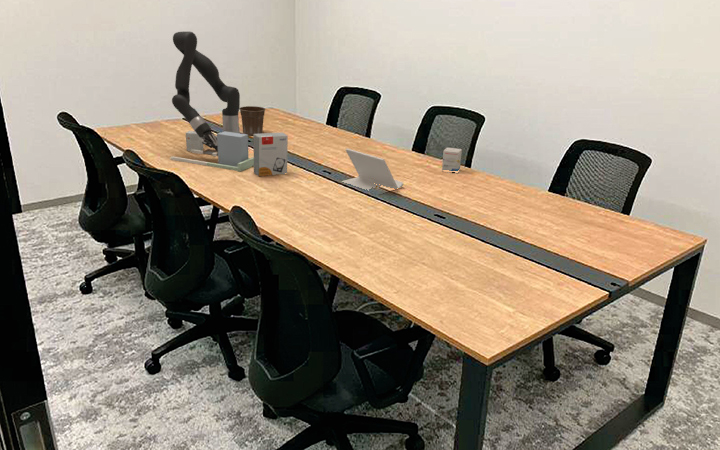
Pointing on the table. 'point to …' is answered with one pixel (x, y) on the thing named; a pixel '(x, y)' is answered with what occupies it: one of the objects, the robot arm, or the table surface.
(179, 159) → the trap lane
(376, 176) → the tablet stand
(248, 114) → the plant pot
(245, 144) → the block
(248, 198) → the table surface
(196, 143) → the small box
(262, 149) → the hard drive box
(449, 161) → the ink box
